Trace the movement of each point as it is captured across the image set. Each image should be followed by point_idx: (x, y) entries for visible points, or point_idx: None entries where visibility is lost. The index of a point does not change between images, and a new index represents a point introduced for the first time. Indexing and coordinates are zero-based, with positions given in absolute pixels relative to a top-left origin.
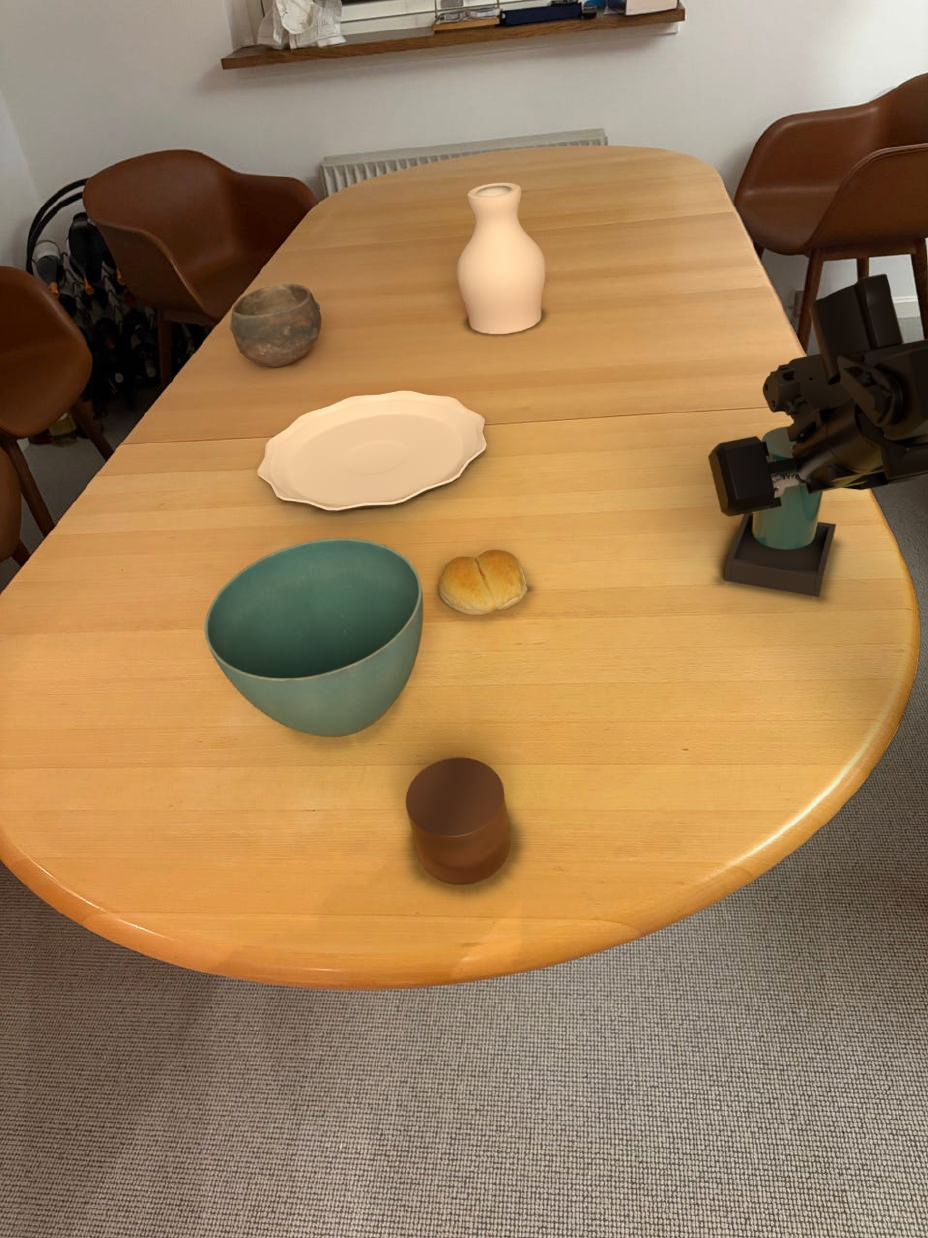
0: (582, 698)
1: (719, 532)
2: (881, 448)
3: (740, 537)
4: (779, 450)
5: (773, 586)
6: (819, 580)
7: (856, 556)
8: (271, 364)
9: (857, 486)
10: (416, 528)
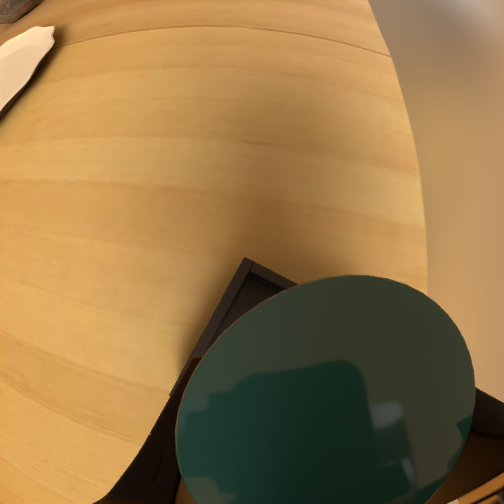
0: (26, 487)
1: (207, 262)
2: None
3: (211, 336)
4: (243, 502)
5: None
6: None
7: None
8: (8, 22)
9: (427, 501)
10: None
